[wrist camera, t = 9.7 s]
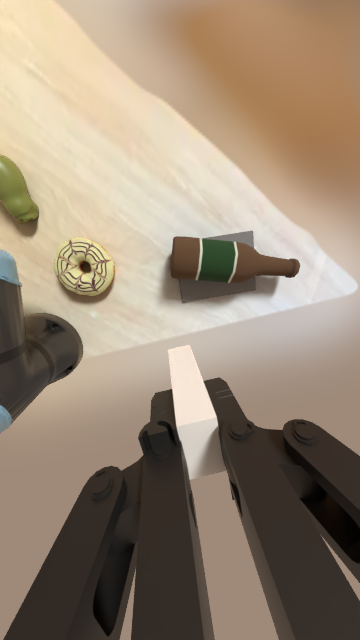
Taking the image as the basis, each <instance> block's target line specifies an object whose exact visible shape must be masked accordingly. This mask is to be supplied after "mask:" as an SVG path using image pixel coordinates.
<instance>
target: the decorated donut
mask: <svg viewBox="0 0 360 640" xmlns="http://www.w3.org/2000/svg"><path fill="white" fill-rule="evenodd" d="M84 262H88V263H89V264H90V265H91V272H90V273H85V272H83V271H82V269H81V265H82V264H83V263H84ZM54 271H55V273H56V275H57V277H58V279H59V280H60V282H61V283H62V284H63V285H64V286H65V287H66V288H67V289H68V290H69V291H72V292H75V293H77V294H79V295H89V296H96V295H99V294H100V293H102V292H103V291H105V289H106V288H107V287H108V286H109V285H110V284H111V282H112V281H113V278H114V273H115V266H114V261H113V260H112V258H111V257H110V255H109V254H108V253H107V251H106V250H105V249H104V248H103V247H102V246H101V245H99V244H98V243H96V242H94V241H92V240H89V239H86V238H74V239H70V240H67V241H65V242H63V243H62V244H61V246H60V247H59V248H58V250H57V253H56V257H55V260H54Z"/></svg>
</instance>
